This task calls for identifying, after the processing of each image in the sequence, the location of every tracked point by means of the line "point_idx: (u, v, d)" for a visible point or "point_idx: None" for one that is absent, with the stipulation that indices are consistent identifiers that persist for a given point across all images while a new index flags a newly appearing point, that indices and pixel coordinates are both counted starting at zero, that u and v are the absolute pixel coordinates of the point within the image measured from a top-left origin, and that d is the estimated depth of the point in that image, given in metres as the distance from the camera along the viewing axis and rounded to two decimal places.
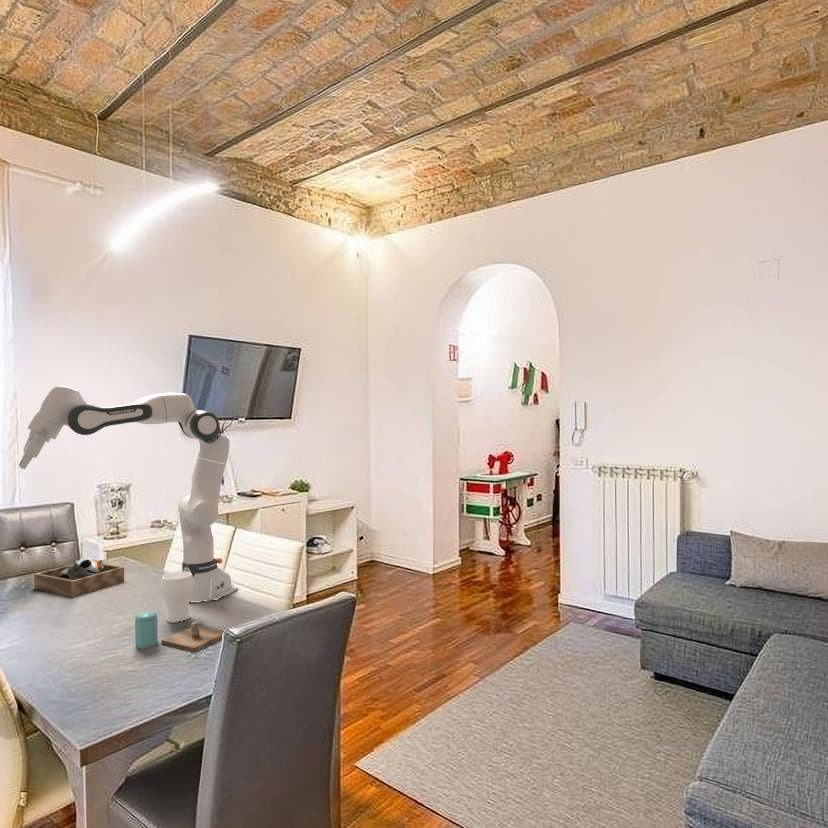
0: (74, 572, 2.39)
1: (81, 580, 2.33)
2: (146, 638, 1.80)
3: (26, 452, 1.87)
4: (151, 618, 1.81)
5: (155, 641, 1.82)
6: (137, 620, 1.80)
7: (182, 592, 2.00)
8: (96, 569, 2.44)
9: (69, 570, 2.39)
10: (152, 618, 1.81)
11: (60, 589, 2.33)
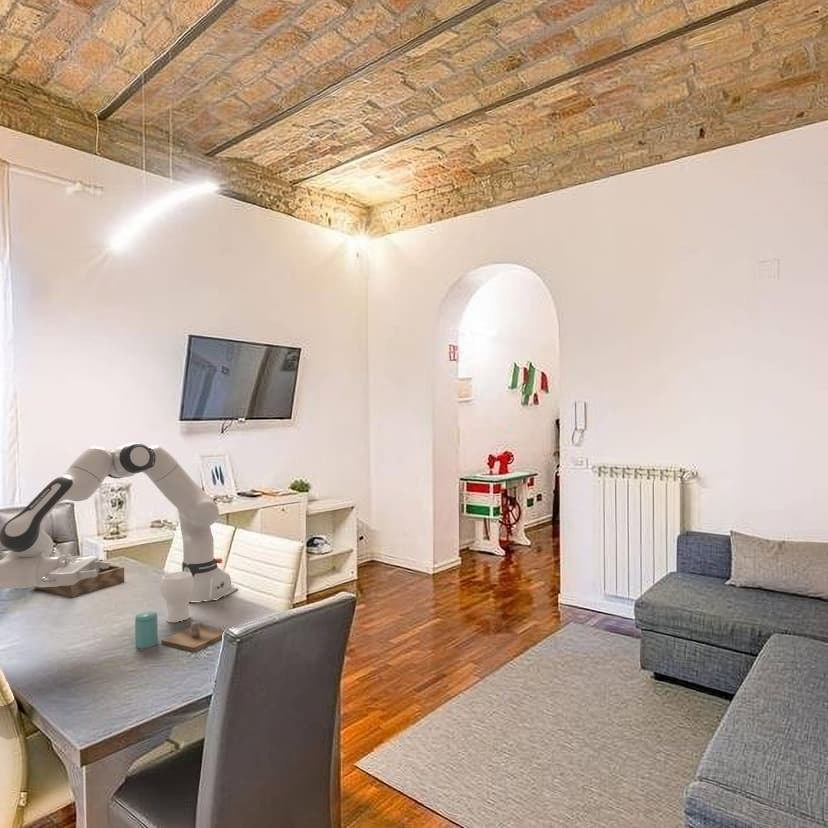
0: None
1: (81, 580, 2.33)
2: (146, 638, 1.80)
3: (71, 584, 1.70)
4: (151, 618, 1.81)
5: (155, 641, 1.82)
6: (137, 620, 1.80)
7: (182, 592, 2.00)
8: None
9: None
10: (152, 618, 1.81)
11: (60, 589, 2.33)
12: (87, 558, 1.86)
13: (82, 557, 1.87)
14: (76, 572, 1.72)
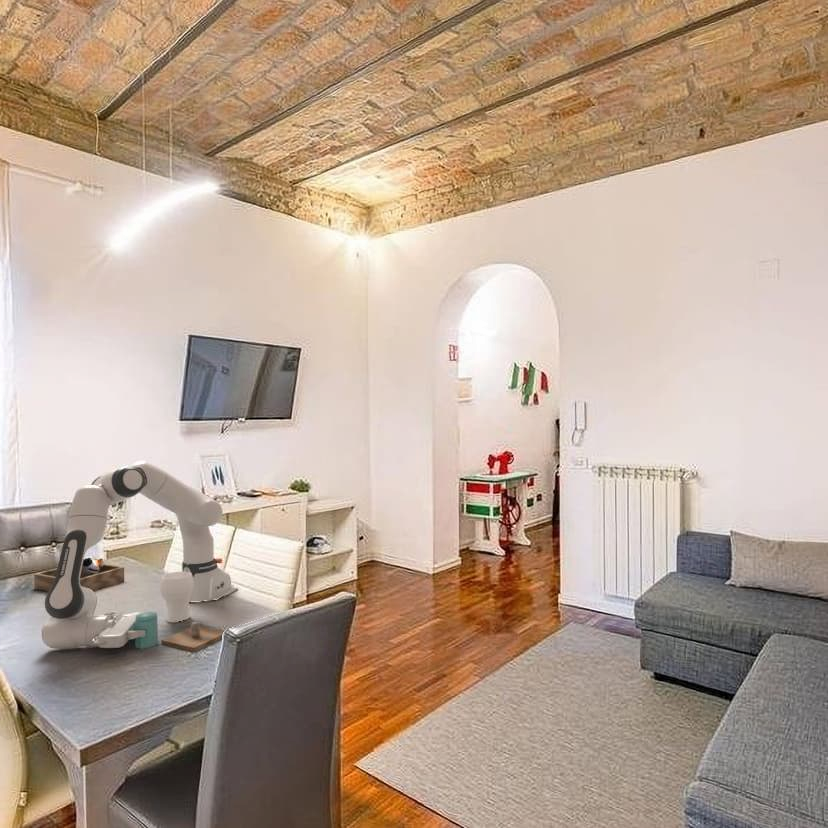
0: None
1: (81, 580, 2.33)
2: (146, 638, 1.80)
3: (120, 646, 1.72)
4: (151, 618, 1.81)
5: (155, 641, 1.82)
6: (137, 620, 1.80)
7: (182, 592, 2.00)
8: (97, 567, 2.47)
9: None
10: (152, 618, 1.81)
11: None
12: (132, 615, 1.89)
13: (127, 614, 1.89)
14: (125, 633, 1.74)
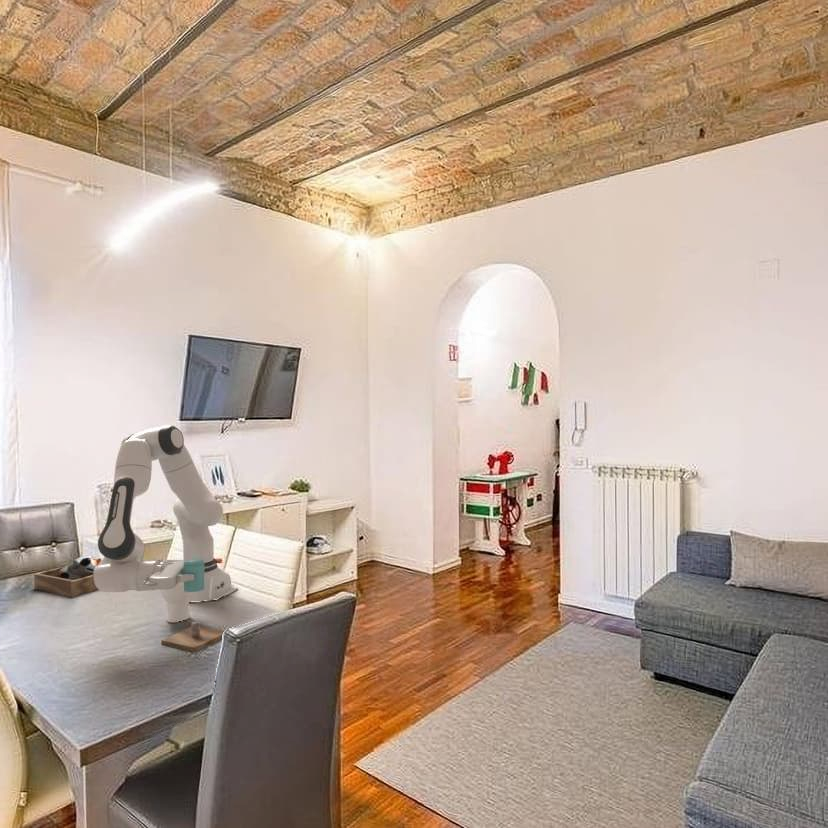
0: (74, 570, 2.42)
1: (81, 580, 2.33)
2: (195, 582, 1.83)
3: (171, 587, 1.75)
4: (199, 563, 1.83)
5: (203, 586, 1.85)
6: (185, 564, 1.83)
7: (182, 592, 2.00)
8: None
9: (69, 568, 2.42)
10: (200, 563, 1.84)
11: (60, 589, 2.33)
12: (178, 562, 1.91)
13: (173, 561, 1.92)
14: (175, 576, 1.77)
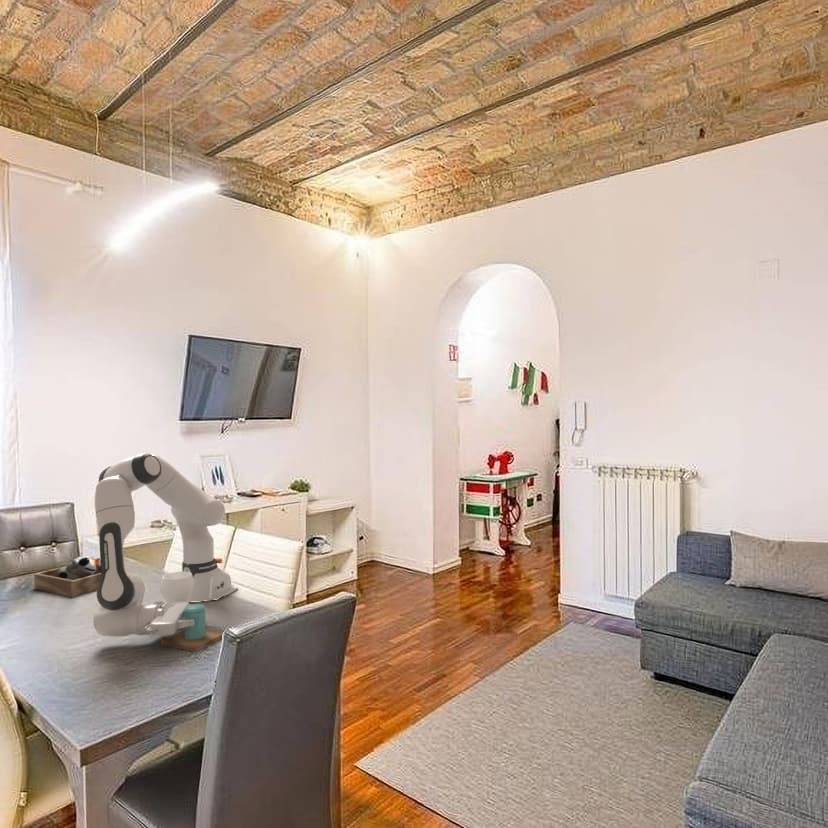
0: (73, 570, 2.43)
1: (81, 580, 2.33)
2: (196, 629, 1.83)
3: (172, 633, 1.75)
4: (200, 610, 1.84)
5: (204, 633, 1.85)
6: (186, 612, 1.83)
7: (182, 592, 2.00)
8: (94, 567, 2.48)
9: (67, 568, 2.42)
10: (201, 610, 1.84)
11: (60, 589, 2.33)
12: (179, 604, 1.92)
13: (174, 603, 1.92)
14: (176, 622, 1.77)
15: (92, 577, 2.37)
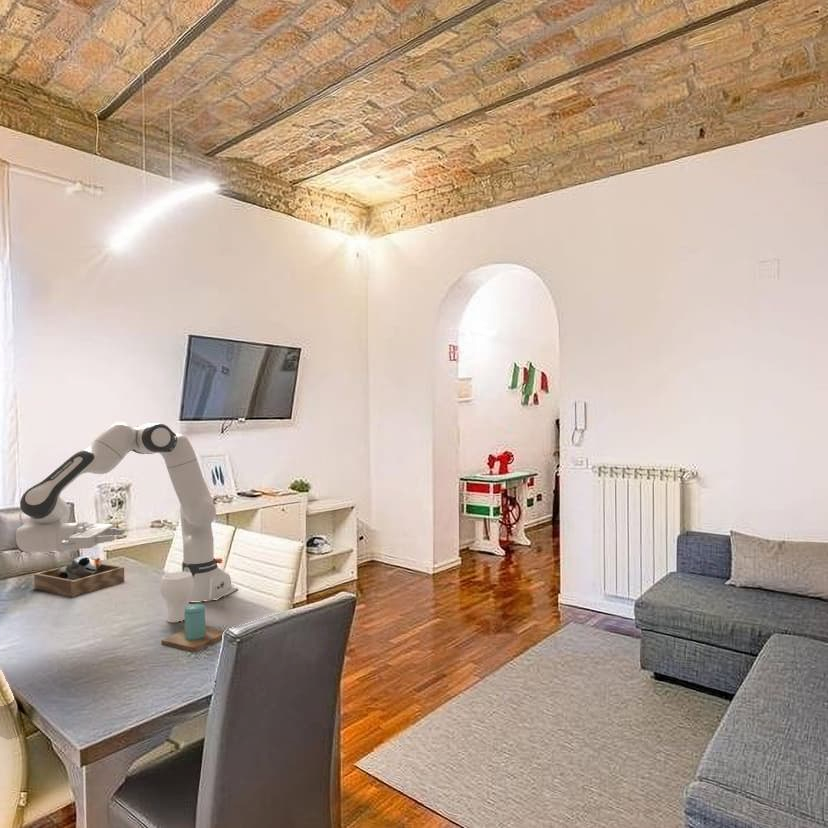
0: (73, 570, 2.43)
1: (81, 580, 2.33)
2: (196, 629, 1.83)
3: (89, 547, 1.81)
4: (200, 610, 1.84)
5: (204, 633, 1.85)
6: (186, 612, 1.83)
7: (182, 592, 2.00)
8: (94, 567, 2.48)
9: (68, 568, 2.42)
10: (201, 610, 1.84)
11: (60, 589, 2.33)
12: (103, 525, 1.97)
13: (98, 525, 1.98)
14: (94, 536, 1.83)
15: (92, 577, 2.37)
